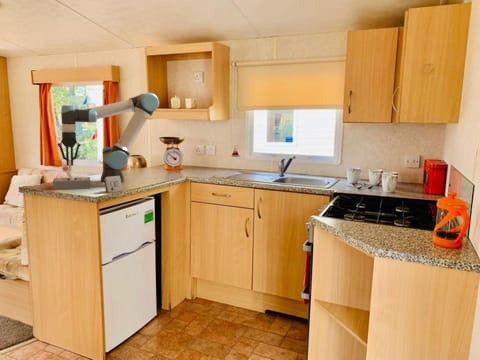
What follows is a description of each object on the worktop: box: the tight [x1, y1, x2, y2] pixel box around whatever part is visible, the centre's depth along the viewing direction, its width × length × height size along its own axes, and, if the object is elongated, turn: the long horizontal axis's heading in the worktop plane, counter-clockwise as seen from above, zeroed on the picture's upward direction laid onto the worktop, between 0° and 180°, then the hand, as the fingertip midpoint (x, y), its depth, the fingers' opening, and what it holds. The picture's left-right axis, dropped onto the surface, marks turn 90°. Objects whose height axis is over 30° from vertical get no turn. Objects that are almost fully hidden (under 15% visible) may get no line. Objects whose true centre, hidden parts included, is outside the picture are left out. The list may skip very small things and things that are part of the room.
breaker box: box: [52, 176, 91, 191], centre depth 221 cm, size 20×13×5 cm, turn 112°
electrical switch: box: [104, 176, 123, 194], centre depth 211 cm, size 9×5×9 cm, turn 141°
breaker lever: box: [61, 165, 76, 180], centre depth 219 cm, size 3×6×10 cm, turn 22°
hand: (70, 171), depth 220 cm, fingers closed
